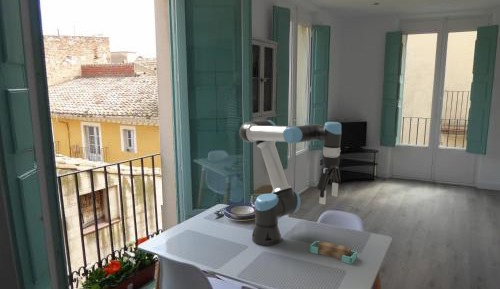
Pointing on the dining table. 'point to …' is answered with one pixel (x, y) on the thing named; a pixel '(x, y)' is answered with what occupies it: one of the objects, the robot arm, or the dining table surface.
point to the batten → (333, 250)
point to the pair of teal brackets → (345, 259)
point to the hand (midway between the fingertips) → (328, 199)
